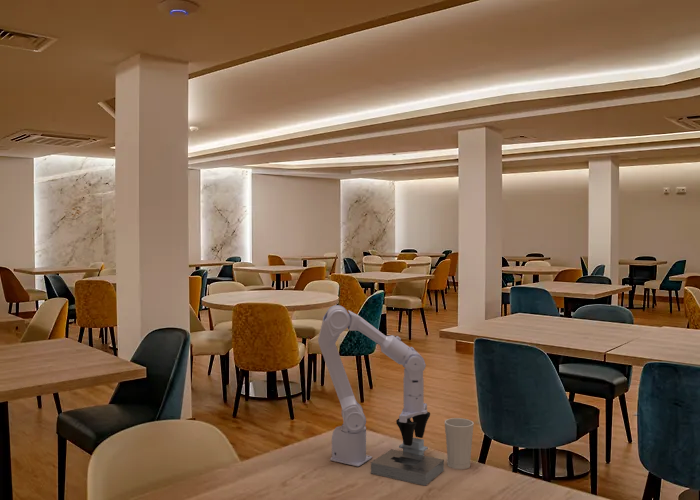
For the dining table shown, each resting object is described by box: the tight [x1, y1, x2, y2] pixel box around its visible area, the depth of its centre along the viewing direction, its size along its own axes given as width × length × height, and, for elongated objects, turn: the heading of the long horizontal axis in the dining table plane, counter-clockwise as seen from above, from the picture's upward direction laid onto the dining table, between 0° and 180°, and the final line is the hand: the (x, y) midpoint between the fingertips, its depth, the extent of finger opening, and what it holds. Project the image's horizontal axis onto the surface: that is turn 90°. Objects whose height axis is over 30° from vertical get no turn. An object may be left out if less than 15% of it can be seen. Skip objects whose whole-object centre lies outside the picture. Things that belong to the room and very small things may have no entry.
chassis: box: [370, 448, 445, 486], centre depth 169 cm, size 16×12×3 cm
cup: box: [444, 417, 475, 470], centre depth 174 cm, size 8×8×12 cm
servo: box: [398, 437, 429, 456], centre depth 179 cm, size 8×3×6 cm, turn 59°
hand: (413, 441), depth 179 cm, fingers open, 7 cm apart
